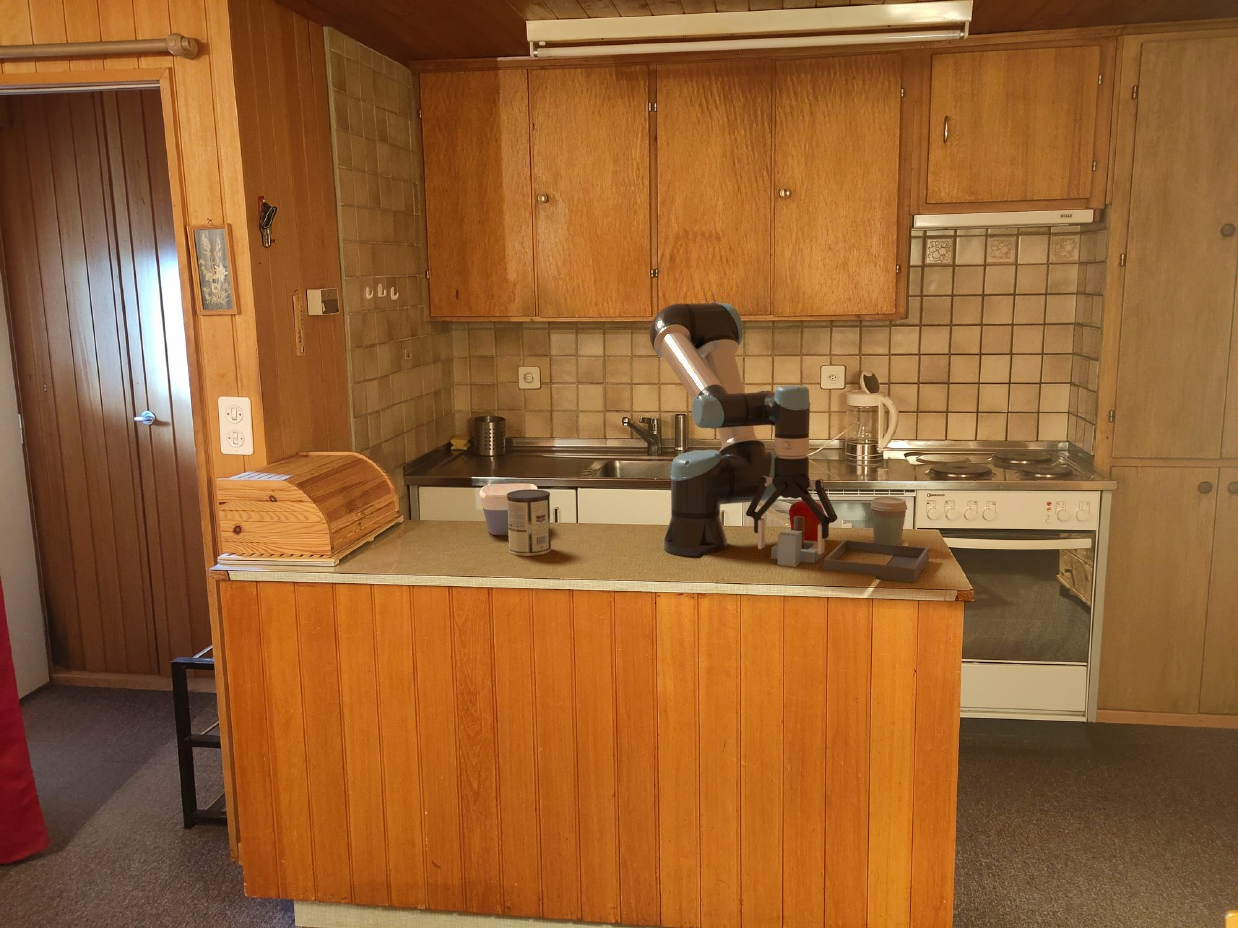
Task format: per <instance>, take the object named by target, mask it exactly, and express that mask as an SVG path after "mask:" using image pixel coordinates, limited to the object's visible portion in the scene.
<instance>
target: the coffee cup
mask: <svg viewBox="0 0 1238 928" xmlns="http://www.w3.org/2000/svg"><path fill="white" fill-rule="evenodd" d="M870 509H871V518H872V532H873V542H874V543H884V544H895V545H902V537H903V532H904V526H905V518H906V512H907V510H908V505H907V502H906V500H905V499H903V498H901V497H894V496H878V497H873V499H872V502H871V503H870Z"/></svg>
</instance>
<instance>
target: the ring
mask: <svg viewBox="0 0 1238 928" xmlns="http://www.w3.org/2000/svg"><path fill="white" fill-rule="evenodd" d="M801 546H802V531H794V530H791V529H783V530H782V531H781V532H779V533H778V534H777V543H776V544H775V545H774V546H772V547H770V549H771V553H770V555H771V556H770V557H771V558H773V559H772V560H775V559H778V560H777V565H778V566H783V567H791V568H792V567H795V568H796V567H797V566H798V565H799V564H800V563H803V562H811V563H810V564H813V563H815V562H816V561H817V560H818V559H819V558H820V557H821V556H822V555H823V554H824V553H825V552H826V542H825V541H824V552H823V553H822V554H818V542H816V541H805V540H804V549H801Z"/></svg>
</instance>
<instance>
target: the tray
mask: <svg viewBox="0 0 1238 928" xmlns="http://www.w3.org/2000/svg"><path fill="white" fill-rule="evenodd" d="M846 551H850V552H860V553H870V554H878V555H879V554H880V555H890V556H892V557H891V558H890V560H888V561H887V563H886V564H881V563H879V564H878V563H870V562H869V563H868V562H859V561H851V560H843V559H842V560H840V558H841V556H842V555H843V554H845V552H846ZM929 556H930V547H926V546H914V545H905V544H904V545H903V544H901V545H895V544H884V543H874V541H864V540H863V541H861V540H852V539H851V540H850V539H843V540H842V541H841V542H840V543H839V544H838V545H837V546H836V547H835V548H834V549H833V550H832V551H831V552H829V554H828V555H827V556H826V557H824V559H823V570H824V571H832V572H842V573H850V574H859V575H860V574H861V575H866V576H867V575H868V576H876V577H874V579H875V580H882V581H883V580H884V581H892V582H901V583H911V584H915V583H916V581H917V579H918V578H919V576H920V575H921V573H922V572H923V570H924V568H926V566H927V565H928V563H929V559H930V557H929Z"/></svg>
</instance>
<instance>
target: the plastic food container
mask: <svg viewBox="0 0 1238 928" xmlns="http://www.w3.org/2000/svg"><path fill="white" fill-rule="evenodd" d="M528 489H536V490H539V489H538V486H536V485H535V484H533V483H502V484H501V483H499V484H486V485H484V486H483V487H481V488H480V491H479V498H480V503H481V507H482V509H483V515H484V518H485V523H486V527H487V531H488V533H489V534H490V535H492V536H505V537H506V536H507V537H508V536H509V531H508V504H507V493H509V492H512V491H517V490H528Z"/></svg>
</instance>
